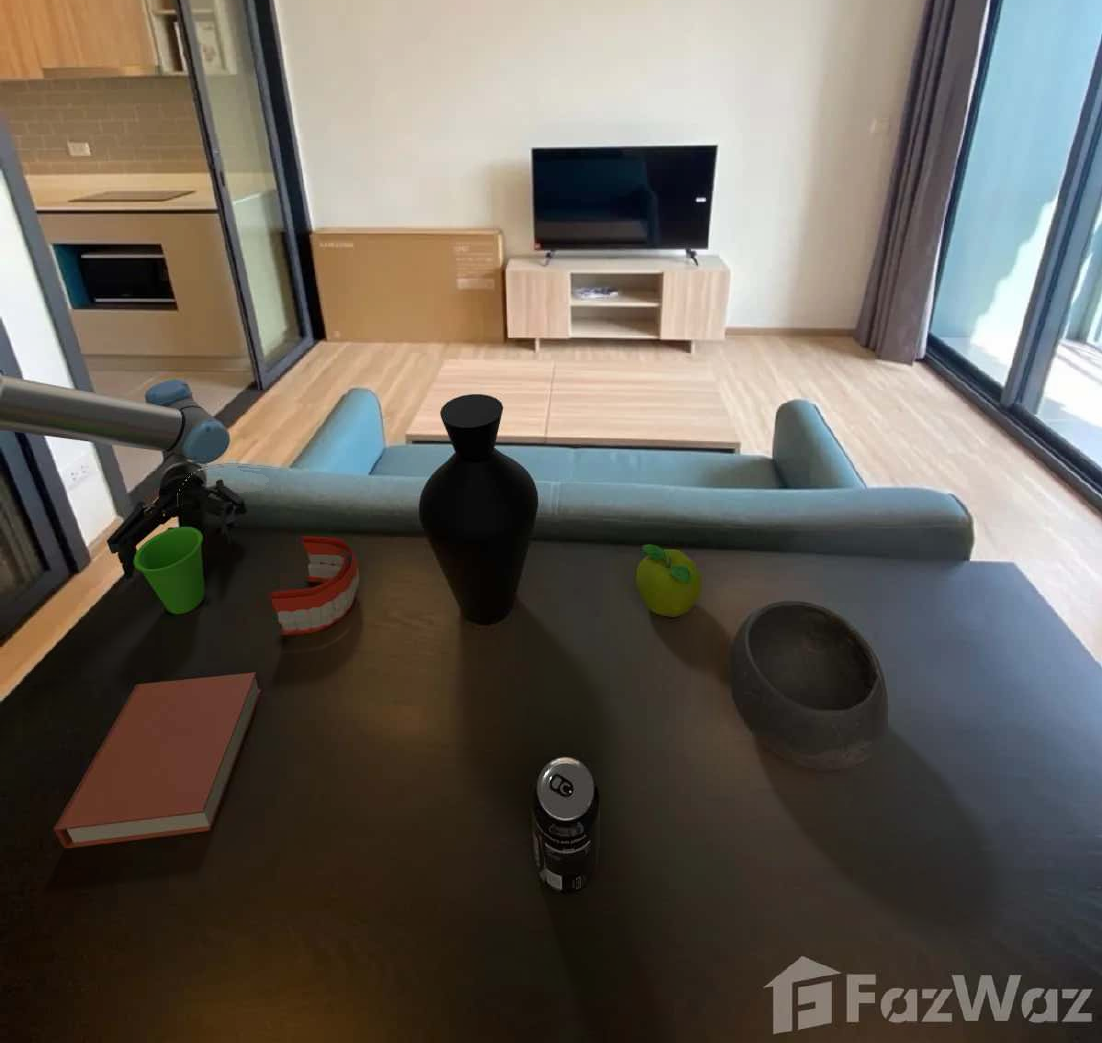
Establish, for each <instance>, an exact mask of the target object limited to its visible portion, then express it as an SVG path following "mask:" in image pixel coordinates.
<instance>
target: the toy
mask: <svg viewBox="0 0 1102 1043" xmlns="http://www.w3.org/2000/svg"><path fill="white" fill-rule="evenodd" d="M300 541H301V543H302V545H303V548H304V550H305V553H306V555H307V557H308V560H309V562H310V563H309V564H308V566H307V570H308V575H307V581H308V582H309V583H320V584H319V585H316V586H314V587H309V588H308V587H307V588H301V589H300V588H299V589H289V590H287V589H285V590H278V591H275V592H271V593H270V594H269V600H270V602H271V604H272V606H273V608H274V611H275V613H277V620H278V623H279V624H281V626H282V628H281V634H282V635H283V636H292V635H295V636H297V635H305V634H312V633H317V632H319V631H323V630H325V629H327V628H329V627H330V626H332V625H333V624H335V623H337V622H338V621H339V620H341V619H342V618H343V617H344V616H345V615H346V614H347V613H348V612H349V610H350V609H351V607H352V606H353V604H354V601H355V598H356V595H357V588H358V587H359V582H360V575H359V569H358V566H359V561H358V560H357V557H356V556H355V554H354V552H353V551H352V549H351V547H349V545H348V544H347V542H345V541H344V540H342V539H340V538H335V537H334V538H333V537H328V536H311V535H310V536H309V535H304V536H302V537H301V538H300ZM321 563H322V564H321Z"/></svg>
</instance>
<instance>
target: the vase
mask: <svg viewBox="0 0 1102 1043" xmlns="http://www.w3.org/2000/svg"><path fill="white" fill-rule="evenodd" d="M503 410H504V405H503V403H502V402H501V401H500V400H499V399H498V398H497V397H494V396H491V395H487V394H483V393H470V394H464V395H463V394H462V395H460V396H457V397H454V398H452V399H450V400H448V401H447V402H446V403H444V405H443V406H442V407H441V409H440V412H439V415H440V419H441V421H442V424H443V426H444V429H445V431H446V433H447V436H448V438H449V440H450V443H451V445H452V447H453V450H454V453H453V454H452V455H451V456H450V457H449V458H448V459H447V460H445V462H444V463H443V464H441V465H440V466H439V467H438V468H437V469H435V471H434V472H433V473H432V474H431V476H429V478H428V480H427V481H426V483H425V484H424V486H423V488H422V490H421V493H420V497H419V500H418V517H419V521H420V525H421V527H422V530H423V532H424V535H425V537H426V539H427V540H428V544H429V546H430V547H431V550H432V552H433V554H434V556H435V558H436V560H437V562H438V565H439V567H440V569H441V571H442V574H443V575H444V578H445V580H446V582H447V585H448V586H449V587H450V588H449V589H450V591H451V593H452V595H453V597H454V599H455V601H456V603H457V605H458V608H459V610H460V612H461V613H462V615H463V617H464V618H465V619H466V620H467V621H468V622H470V623H472V624H475V625H478V626H490V625H493V624H498V623H499V622H500V620H501V621H502V620H504V619H505V618H506V617H507V616H508V615H509V614H511V611H512V609H513V607H514V604H515V600H516V597H517V593H518V589H519V585H520V581H521V577H522V573H523V569H524V567H525V563H526V559H527V554H528V551H529V546H530V543H531V540H532V536H533V532H534V527H535V523H536V518H537V515H538V508H539V493H538V489H537V485H536V482H535V481H534V479H533V477H532V475H531V474H530V473H529V471H528V470H527V469H526V468H525V467H524V466H523V465H522V464H521V463H519V462H518V461H516V460H515V459H513V458H512V457H510V456H508V455H506V454H504V453H503V452H501V451H500V450H498V449H497V448H496V443H497V437H498V434H499V428H500V424H501V420H502V416H503ZM498 621H499V622H498Z"/></svg>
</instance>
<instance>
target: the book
mask: <svg viewBox="0 0 1102 1043" xmlns="http://www.w3.org/2000/svg"><path fill="white" fill-rule="evenodd" d="M256 675H257V672H256V671H255V672H254V671H253V672H245V673H236V674H225V675H216V676H206V677H197V678H196V677H195V678H186V679H177V680H168V681H157V682H147V683H138V684H135V686H134V688H133V689H132V691H131V693H130V695H129V697H128V699H126V702H125V703H124V705H123V707H122V709H121V710H120V711H119V712H120V713H119V714H118V716H117V717H116V719H115V721H114V723H113V724H112V726H111V728H110V730H109V731H108V733H107V734H106V737H105V738H104V740H103V742H102V743H101V745H100V747H99V749H98V750H97V753H96V754H95V756H94V758H93V759H92V761H91V763H90V765H89V767H88V768H87V770H86V772H85V773H84V775H83V777H82V778H81V781H79V784H78V786H77V787H76V789H75V791H74V792H73V794H72V796H71V798H70V800H69V802H68V803H67V805H66V806H65V808H64V810H63V811H62V814H61V815H60V817H59V818H58V821H57V822H56V824H55V826H54V828H53V831H54V833H55V834H56V836H57V838H58V840H59V842H60V843H61V845H62V846H63V848H64V850H65V849H74V848H82V847H89V846H100V845H107V844H114V843H123V842H131V841H139V840H147V839H153V838H156V839H157V838H164V837H171V836H179V835H188V834H196V833H202V832H203V833H204V832H210V831H211V829H212V826H213V824H214V822H215V819H216V815H217V813H218V811H219V808H220V805H221V802H222V800H223V796H224V794H225V791H226V789H227V785H228V783H229V780H230V778H231V775H232V772H233V769H234V766H235V763H236V761H237V759H238V755H239V754H240V750H241V748H242V745H243V741H244V739H245V736H246V734H247V731H248V728H249V726H250V723H251V720H252V717H253V714H254V712H255V709H256V707H257V704H258V701H259V698H260V695H261V693H262V688H259V686H258V683H257V680H256V677H257V676H256Z"/></svg>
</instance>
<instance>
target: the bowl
mask: <svg viewBox="0 0 1102 1043" xmlns="http://www.w3.org/2000/svg"><path fill="white" fill-rule="evenodd" d="M732 640H733V641H732V644H731V646H730V649H729V650H730V651H729V654H728V655H729V657H728V663H727V664H728V666H727V667H728V668H727V673H728V675H727V676H728V684H729V689H730V694H731V698H732V700H733V703H734V706H735V709H736V710H737V712H738V715H739V716H740V718H741V719H742V721H743V723H744V724H745V726H746V727H747V728H748V730H749V731H750V732H751V733H752V735H753V736H754V737H755V738H756V739H757V740H758V741H759V742H760V743H761V744H762V745H764V746H765V747H766V748H767V749H768V750H770V751H771V752H773V753H774V754H775V755H778V756H779V757H780V758H782V759H784V760H786V761H788V762H790V763H792V764H795V765H797V766H799V767H804V768H808V769H812V770H816V771H817V770H818V771H839V770H845V769H847V768H851V767H854V766H857V765H860V764H861V763H863V762H865V761H866V760H868V759H869V758H870V757H871V756H872V755H873V754H874V753H875V752H876V751H877V749H878V748H879V747H880V745H881V744H882V742H883V741H884V738H885V736H886V735H887V730H888V724H889V699H888V691H887V684H886V680H885V676H884V672H883V669H882V667H881V664H880V661H879V660H878V657H877V655H876V653H875V652H874V650H873V648H872V647H871V646H870V644H869V643H868V641H867V640H866V639H865V637H863V635H862V634H861V633H860V632H859V631H858V630H857V629H855V628H854V626H852V625H851V624H850V622H849V621H847V619H845V618H844V617H842V616H841V615H840V614H838V613H836V612H834V611H832V610H831V609H829V608H827V607H825V606H822V605H819V604H816V603H811V602H808V601H803V600H780V601H774V602H771V603H767V604H766V605H764V606H761V607H759V608H758V609H756V610H755V611H753V612H752V613H751V614H750V615H749V616H747V617H746V619H745V620H743V622H742V623H741V624H740V626H739V628H738V630H737V631H736V633H735V635H734V637H733V639H732Z"/></svg>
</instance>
